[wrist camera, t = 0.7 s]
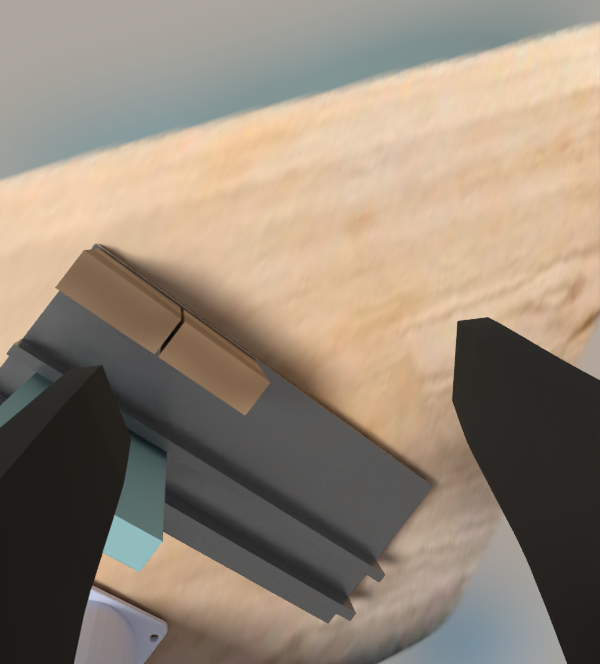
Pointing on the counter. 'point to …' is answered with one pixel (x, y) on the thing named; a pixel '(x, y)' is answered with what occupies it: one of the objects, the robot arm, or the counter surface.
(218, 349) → the offcut
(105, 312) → the offcut
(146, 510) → the teal slab
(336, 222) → the counter surface
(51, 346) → the rack
